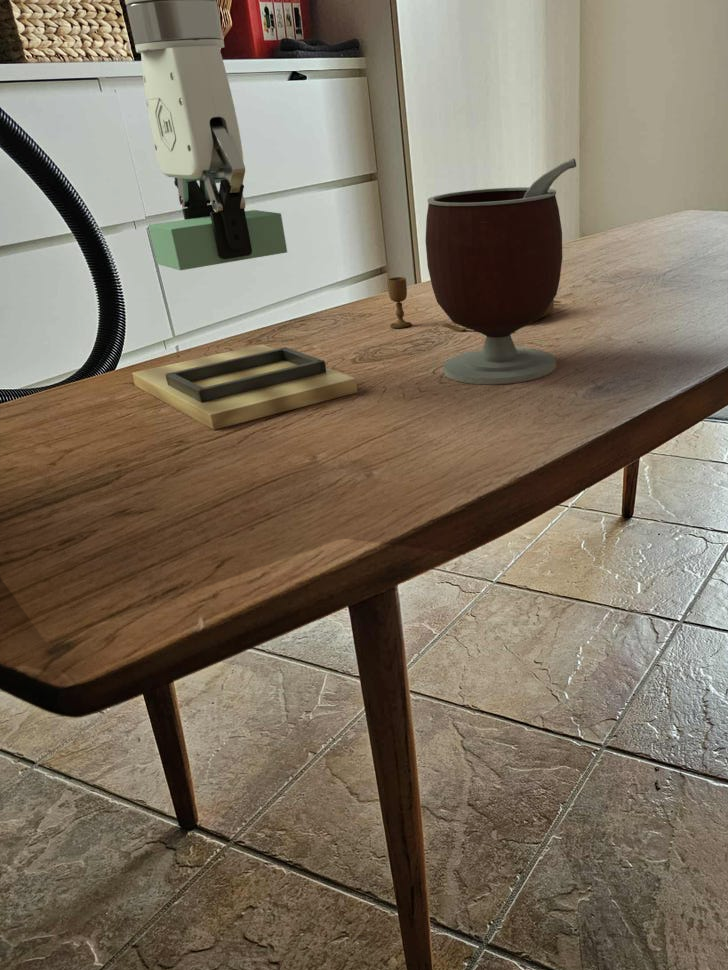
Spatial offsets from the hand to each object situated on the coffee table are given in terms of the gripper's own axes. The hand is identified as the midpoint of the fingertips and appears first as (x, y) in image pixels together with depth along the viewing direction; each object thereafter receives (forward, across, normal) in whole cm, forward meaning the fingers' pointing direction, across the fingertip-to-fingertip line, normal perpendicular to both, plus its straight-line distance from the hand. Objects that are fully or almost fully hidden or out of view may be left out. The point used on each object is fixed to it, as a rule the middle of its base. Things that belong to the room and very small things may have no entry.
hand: (221, 251), depth 87 cm
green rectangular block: (+1, 0, 0) cm, 1 cm away
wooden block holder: (+14, -3, +1) cm, 15 cm away
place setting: (+15, -10, +39) cm, 43 cm away
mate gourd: (+14, +13, +25) cm, 31 cm away
